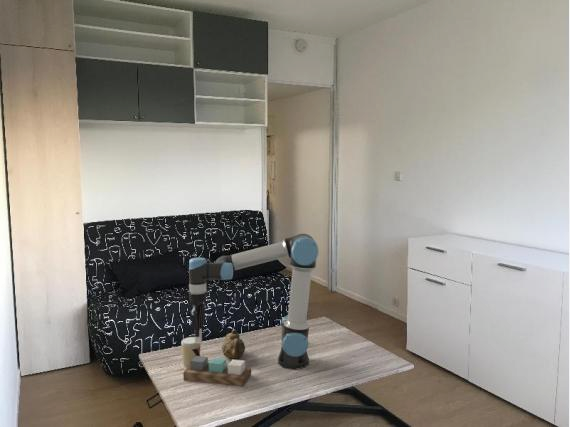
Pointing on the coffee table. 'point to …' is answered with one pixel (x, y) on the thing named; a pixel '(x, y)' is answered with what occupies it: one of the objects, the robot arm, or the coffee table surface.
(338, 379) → the coffee table surface
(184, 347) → the coffee cup
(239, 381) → the frame
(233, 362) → the white key
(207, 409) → the coffee table surface
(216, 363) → the teal key
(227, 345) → the carved stone sculpture
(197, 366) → the charcoal key
